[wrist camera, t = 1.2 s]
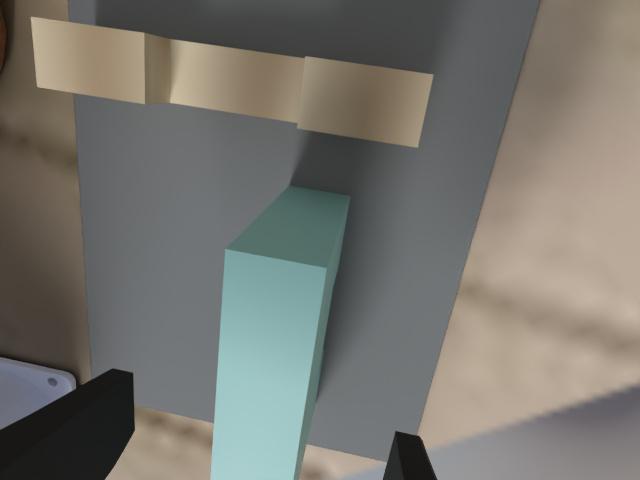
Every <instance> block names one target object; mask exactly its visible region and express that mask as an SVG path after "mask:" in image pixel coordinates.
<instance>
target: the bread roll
mask: <svg viewBox="0 0 640 480" xmlns="http://www.w3.org/2000/svg"><path fill="white" fill-rule="evenodd" d="M6 37H7V32H6V27H5V22H4V18H3V14H2V10H1V6H0V72H1V70H2V66H3V61H4V56H5V47H6Z"/></svg>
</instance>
